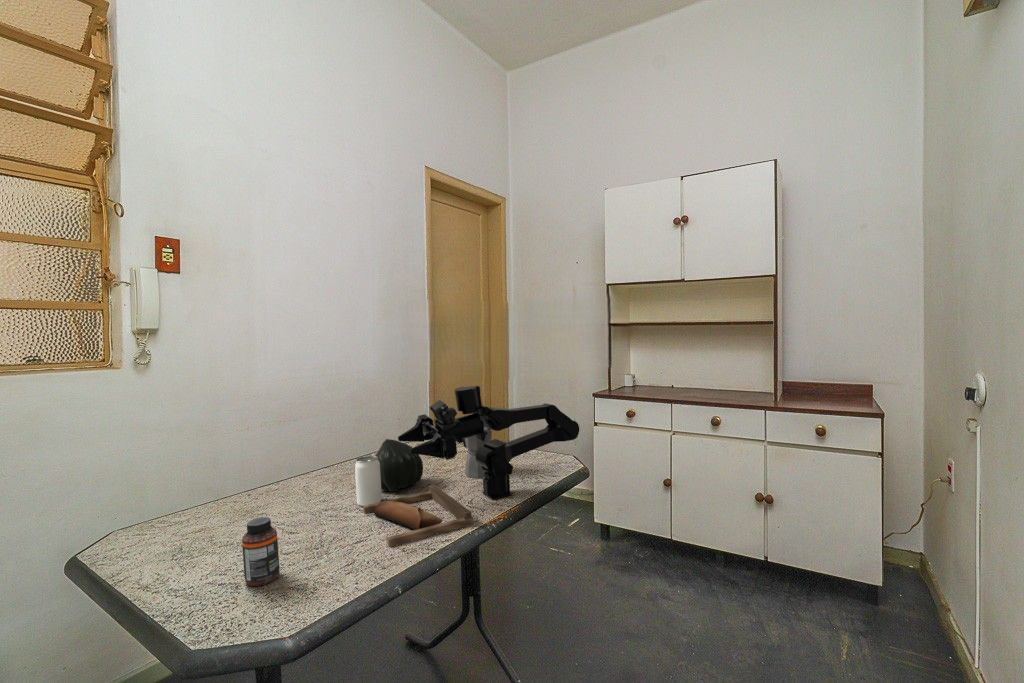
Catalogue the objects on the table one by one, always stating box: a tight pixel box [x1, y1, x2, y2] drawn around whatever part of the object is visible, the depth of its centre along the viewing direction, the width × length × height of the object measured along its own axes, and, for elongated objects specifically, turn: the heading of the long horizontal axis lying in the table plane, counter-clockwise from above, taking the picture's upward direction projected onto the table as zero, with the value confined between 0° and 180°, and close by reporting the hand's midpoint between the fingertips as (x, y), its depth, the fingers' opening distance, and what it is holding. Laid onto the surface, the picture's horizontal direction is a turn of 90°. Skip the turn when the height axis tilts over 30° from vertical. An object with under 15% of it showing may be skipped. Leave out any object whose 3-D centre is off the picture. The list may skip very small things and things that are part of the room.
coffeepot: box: [462, 427, 493, 479], centre depth 151 cm, size 15×9×18 cm, turn 44°
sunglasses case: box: [373, 501, 444, 530], centre depth 116 cm, size 18×7×7 cm
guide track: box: [362, 484, 475, 548], centre depth 117 cm, size 20×24×3 cm
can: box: [354, 455, 383, 507], centre depth 129 cm, size 6×6×12 cm
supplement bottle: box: [241, 516, 281, 587], centre depth 90 cm, size 6×6×11 cm
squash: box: [374, 438, 424, 492], centre depth 141 cm, size 14×15×15 cm
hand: (404, 444), depth 117 cm, fingers open, 9 cm apart
